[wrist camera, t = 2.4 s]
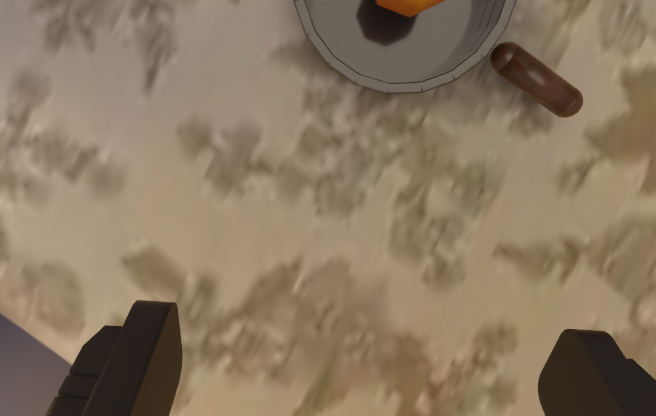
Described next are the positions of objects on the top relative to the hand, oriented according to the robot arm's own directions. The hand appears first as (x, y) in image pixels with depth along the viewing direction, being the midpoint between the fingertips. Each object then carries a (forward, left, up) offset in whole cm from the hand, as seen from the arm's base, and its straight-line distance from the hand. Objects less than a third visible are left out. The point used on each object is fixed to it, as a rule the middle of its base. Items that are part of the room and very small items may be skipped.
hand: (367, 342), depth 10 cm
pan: (-4, +11, -24) cm, 26 cm away
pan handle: (+6, +11, -21) cm, 24 cm away
